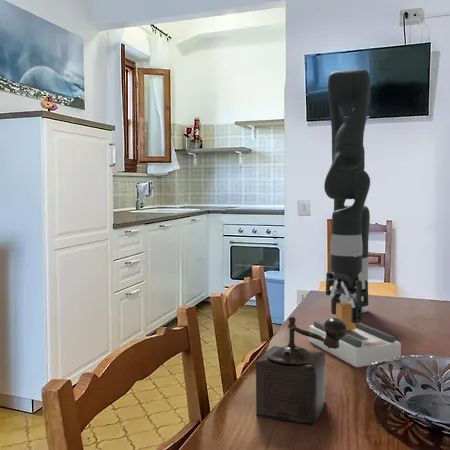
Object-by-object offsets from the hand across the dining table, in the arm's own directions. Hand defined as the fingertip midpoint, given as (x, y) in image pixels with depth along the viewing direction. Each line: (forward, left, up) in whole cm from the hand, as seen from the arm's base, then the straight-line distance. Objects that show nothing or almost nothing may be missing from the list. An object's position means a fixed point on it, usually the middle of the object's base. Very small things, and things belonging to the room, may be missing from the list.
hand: (345, 318), depth 121 cm
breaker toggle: (0, 0, -3) cm, 3 cm away
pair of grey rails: (+3, 0, -3) cm, 4 cm away
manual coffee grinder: (+27, -27, -7) cm, 39 cm away
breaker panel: (+3, 0, -7) cm, 8 cm away
